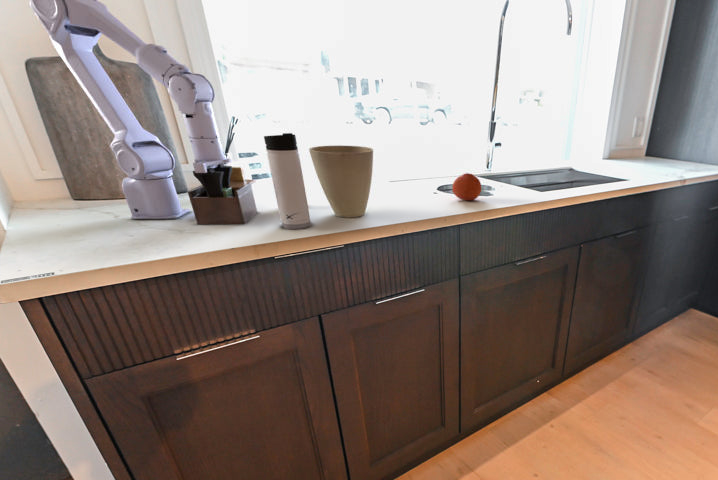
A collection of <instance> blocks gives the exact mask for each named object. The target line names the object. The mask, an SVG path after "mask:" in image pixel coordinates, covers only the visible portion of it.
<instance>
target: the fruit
mask: <svg viewBox="0 0 718 480" xmlns="http://www.w3.org/2000/svg"><path fill="white" fill-rule="evenodd" d="M451 190H452V193H453V195H455V196H456V197H457V199H460V200H462V201H475V200H476V199H477V198H478V197H479V196H480V194H481V193H482V183H481V180H480V178H478V177H477V176H476V175H474V174H473V173H469V172H466V173H463V174H462V175H459V176H457V178H455V180H454V181H453V183H452V186H451Z"/></svg>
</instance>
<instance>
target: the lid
mask: <svg viewBox="0 0 718 480" xmlns="http://www.w3.org/2000/svg"><path fill="white" fill-rule="evenodd" d="M247 183H251V186H252V185H253V184H255V183H256V180H255V179H246V178H245V172H244V169H243V167H242V166H232V173H231V177H230V188H231V189H232V190H238V189H239V188H241V187H243V186H244V185H246V184H247Z"/></svg>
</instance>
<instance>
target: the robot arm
mask: <svg viewBox="0 0 718 480" xmlns="http://www.w3.org/2000/svg"><path fill="white" fill-rule="evenodd" d="M29 8H30V9H31V10H32V12H33V14H34V15H35V16H36V17H37V19H38V20H39V22H40V24H41V25H42V26H43V28H44V30H45V31H46V32H47V34H48V36H49V39H50V41H51V43H52V45H53V47H54V49H55V50H56V52H57V53H58V55H59V57H60V58H61V59H62V61H63V62H64V64H65V65H66V67H67V68H68V70H69V71H70V73H71V74H72V75H73V77H74V78H75V80H76V82H77V83H78V84H79V86H80V87H81V88H82V90H83V92H84V93H85V95H86V96H87V97H88V99H89V100H90V102H91V103H92V105H93V106H94V107H95V109H96V110H97V112H98V113H99V115H100V117H101V118H102V119H103V121H104V122H105V124H106V125H107V126H108V128H109V130H110V131H111V133H112V134H113V135H114V137H113V139H112V142H111V143H110V145H109V148H110V149H111V151H112V152H113V154H114V157H115V159H116V162H117V164H118V167H119V168H120V169H121V170H122V172H123V173H124V174H125V175H127V176H128V177H124V178H123V180H122V182H121V188H122V193H123V195H124V199H125V201H126V203H127V206H128V208H129V212H130V215H131V216H130V219H131V220H151V219H152V220H158V219H159V220H160V219H162V220H165V219H166V220H167V219H168V220H169V219H170V220H171V219H178V218H180V217H182V216H184V215H185V214H188V213H189V212H190V209H189V208H183V207H182V206H181V203H180V199H179V196H178V193H177V190H176V186H175V183H174V180H173V177H172V176H174V173H173V171H174V170H175V167H176V159H175V157H174V155H173V153H172V152H171V150H169V148H168V147H166V146H165V145H164V144H163V143H162V142H161V141H160V139H159V137H158V136H156V135H155V134H153V133H151V132H149V131H147V130H145V129H144V128H143V127H142V125H141V124H140V122H139V120H138V119H137V118H136V117H135V115H134V113H133V111H132V110H131V109H130V107H129V106H128V104H127V103H126V101H125V99H124V98H123V97H122V95H121V93H120V92H119V91H118V89H117V87H116V85H115V84H114V83H113V81H112V80H111V78H110V77H109V75H108V73H107V72H106V71H105V68H104V67H103V66H102V65H101V63H100V61H99V60H98V58H97V57H96V55H95V54H94V52H93V49H94V47H95V46H97V43H98V42H99V40H100V38H101V35H104V36H105V37H107V38H108V39H109V40H111V41H112V42H114V43H115V44H116V45H118V46H119V47H121V48H122V49H124V50H125V51H126V52H128V53H129V54H131V55H132V56H133V57H135V59H136V63H137V66H138V67H139V68H140V69H141V70H143V71H144V72H145V73H146V74H148V75H149V76H150V77H152V78H153V79H154V80H156V81H157V82H158V83H159V84H161V85H162V86H163V87H165V88H166V89H167V92H168V95H169V96H170V97H171V98H172V100H173V101H174V102H175V103H176V105H177V108H178V111H180V114H182V118H183V121H184V126H185V128H186V132H187V136H188V139H189V143H190V146H191V150H192V153H193V156H194V159H193V160H194V161H193V163H192V166H193V169H194V170H193V171H192V174H193V176H194V177H195V178H196V179H197V181H198V182H199V183H200V185H203V187H204V188H205V190H206V192H207V193H208V195H209V197H224V196H223V189H222V188H230V177H231V173H232V167H233V166H232V165H228V164H230V163H232V158H227V155H225V154H224V149H223V145H222V141H221V137H220V133H219V130H218V125H217V121H216V117H215V114H214V110H213V106H212V104H213V102H214V100H215V97H216V96H215V88H214V87H213V85H212V83H211V82H210V81H209V80H208V78H206V76H205V75H203V74H201V73H193V72H192V71H191V70H189V69H190V68H189V67H188V66H187V65H186V64H181V63H180V61H178V60H177V59H175V58H174V57H173V56H172V55H170V54H169V53H168V49H167V48H165V47H164V46H163V45H158V44H155V43H146V42H145V41H144V40H142V39H141V38H140V37H139V36H138V35H137V34H135V33H134V32H133V31H132V29H130V28H129V27H127V26H126V25H125V24H124V23H123V22H122V21H120V20H119V19H118V18H117V17H116V16H115V15H113V14H112V13H111V12H110V11H109V9H108V7H107V5H106V4H104V3H103V2H101V1H99V0H29Z"/></svg>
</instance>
